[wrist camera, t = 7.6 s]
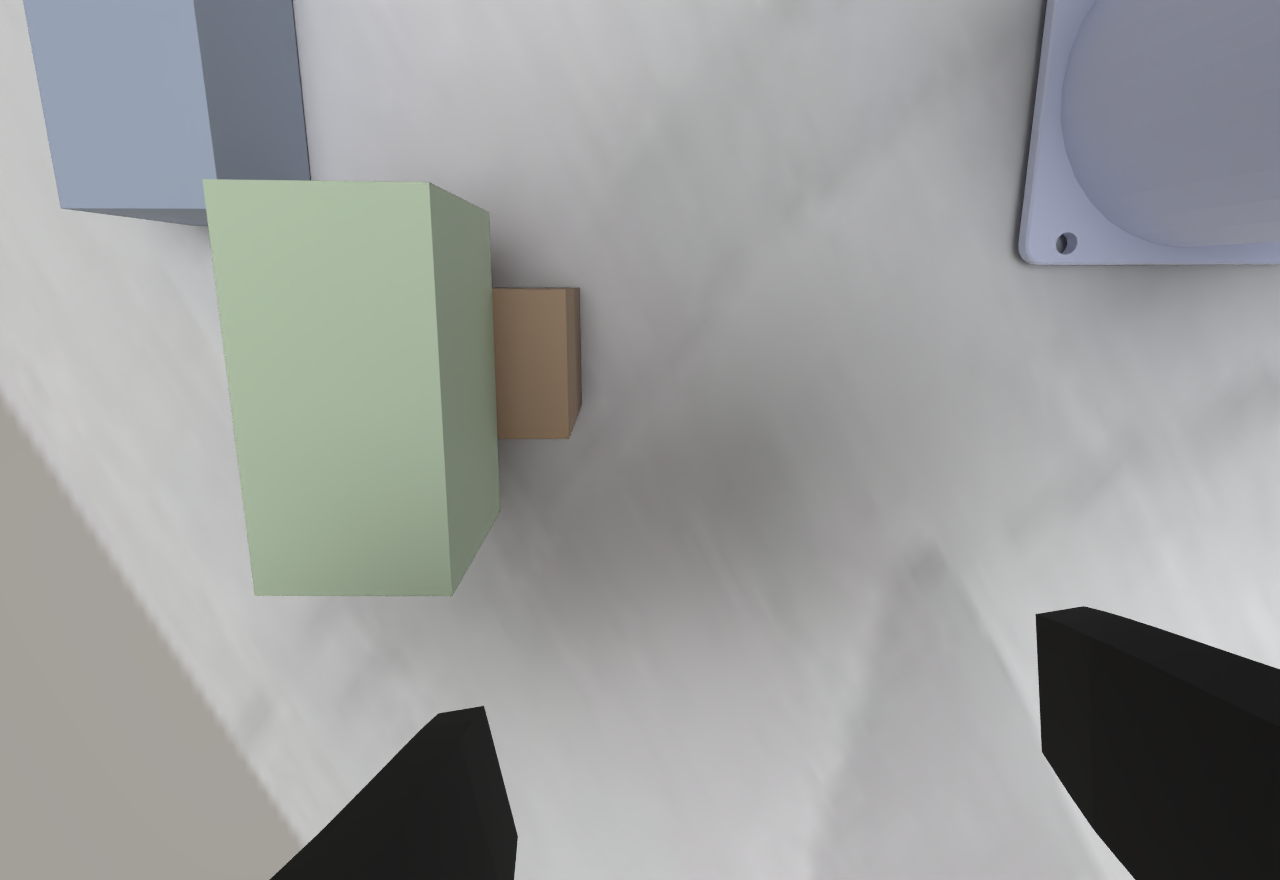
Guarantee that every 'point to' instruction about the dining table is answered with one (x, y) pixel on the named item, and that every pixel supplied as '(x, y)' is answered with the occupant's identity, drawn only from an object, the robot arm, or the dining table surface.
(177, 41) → the slate brick
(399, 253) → the sage brick
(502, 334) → the walnut brick
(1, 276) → the dining table surface
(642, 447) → the dining table surface
